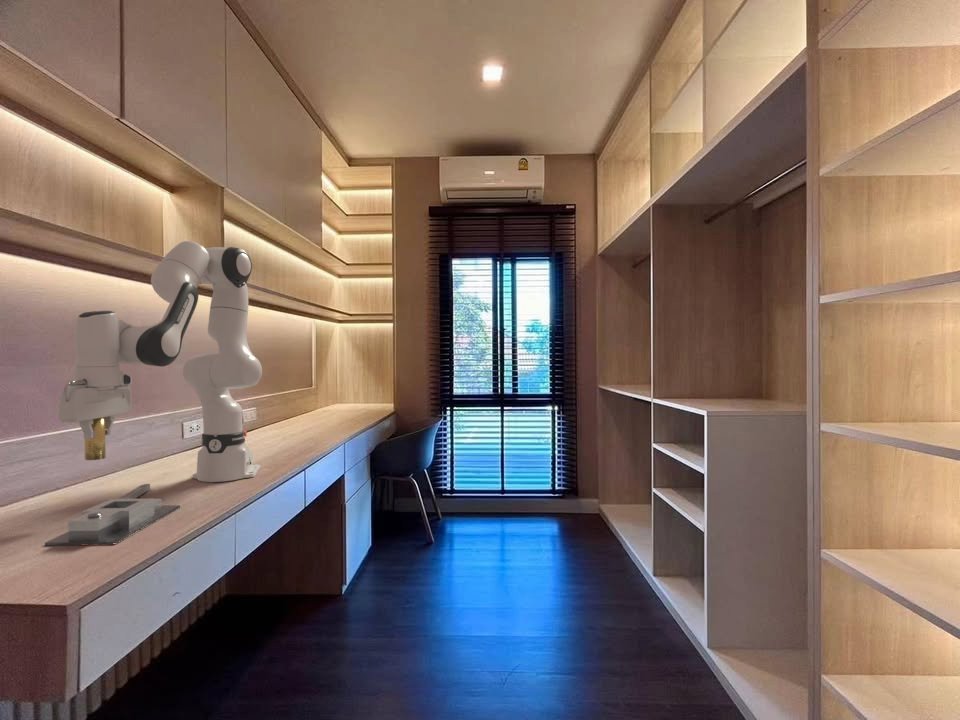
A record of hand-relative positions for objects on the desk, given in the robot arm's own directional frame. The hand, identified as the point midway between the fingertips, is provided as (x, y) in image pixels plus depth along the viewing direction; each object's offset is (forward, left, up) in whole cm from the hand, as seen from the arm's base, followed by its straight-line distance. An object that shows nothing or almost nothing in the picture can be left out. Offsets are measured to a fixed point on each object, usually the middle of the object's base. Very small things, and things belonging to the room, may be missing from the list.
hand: (97, 437), depth 127 cm
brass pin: (0, -1, -5) cm, 5 cm away
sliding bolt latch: (+5, +8, -19) cm, 22 cm away
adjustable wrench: (-15, -1, -19) cm, 24 cm away
